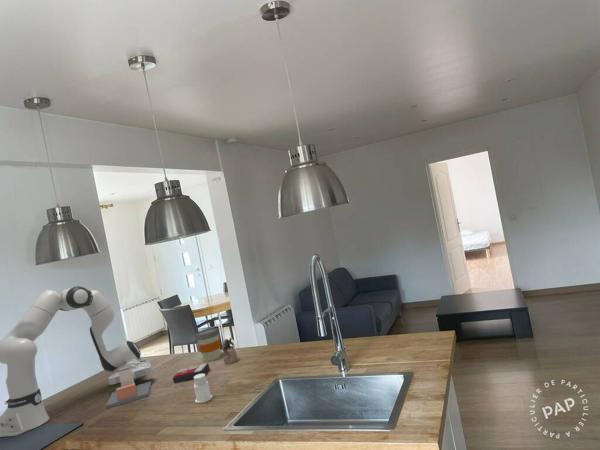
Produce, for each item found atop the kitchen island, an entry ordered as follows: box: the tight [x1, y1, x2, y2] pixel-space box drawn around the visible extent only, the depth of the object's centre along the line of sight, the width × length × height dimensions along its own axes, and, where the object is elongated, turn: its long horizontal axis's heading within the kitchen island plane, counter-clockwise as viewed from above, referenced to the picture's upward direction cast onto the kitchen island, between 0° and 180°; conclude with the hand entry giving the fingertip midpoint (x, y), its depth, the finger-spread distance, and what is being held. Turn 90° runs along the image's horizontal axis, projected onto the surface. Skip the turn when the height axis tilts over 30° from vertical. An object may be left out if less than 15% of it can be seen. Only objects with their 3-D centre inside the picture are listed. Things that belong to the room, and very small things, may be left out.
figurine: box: [221, 337, 239, 366], centre depth 226 cm, size 7×7×12 cm
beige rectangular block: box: [117, 365, 135, 387], centre depth 206 cm, size 5×4×12 cm
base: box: [105, 380, 153, 410], centre depth 206 cm, size 18×18×6 cm
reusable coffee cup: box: [195, 327, 222, 362], centre depth 240 cm, size 13×13×15 cm
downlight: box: [193, 374, 213, 404], centre depth 181 cm, size 8×7×10 cm
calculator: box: [172, 363, 211, 384], centre depth 215 cm, size 11×4×15 cm
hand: (128, 378), depth 211 cm, fingers closed
